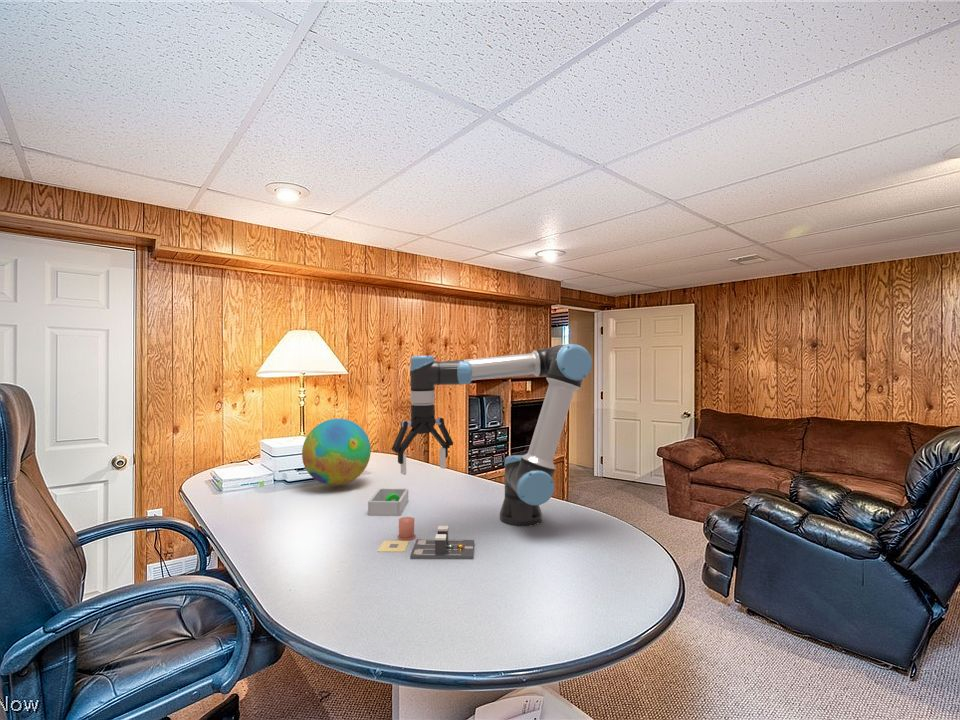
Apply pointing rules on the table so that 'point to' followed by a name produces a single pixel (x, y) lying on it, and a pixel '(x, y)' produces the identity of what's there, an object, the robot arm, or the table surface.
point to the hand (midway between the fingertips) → (423, 470)
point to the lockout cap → (406, 528)
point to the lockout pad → (393, 546)
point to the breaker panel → (453, 550)
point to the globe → (336, 452)
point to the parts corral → (387, 502)
